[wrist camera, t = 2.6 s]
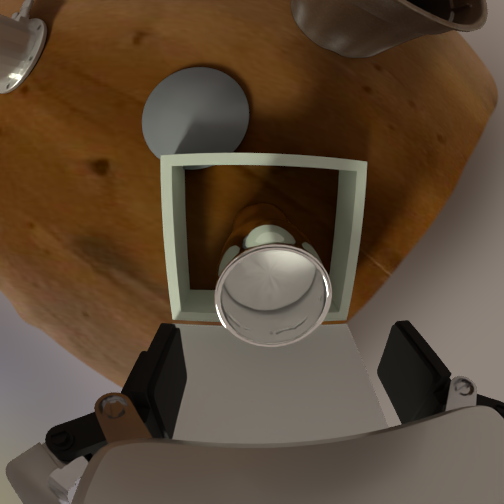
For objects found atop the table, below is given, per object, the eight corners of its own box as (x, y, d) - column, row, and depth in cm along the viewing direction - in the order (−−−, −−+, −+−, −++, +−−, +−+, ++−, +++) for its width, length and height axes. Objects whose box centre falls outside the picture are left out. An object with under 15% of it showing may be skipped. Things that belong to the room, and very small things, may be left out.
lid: (130, 468, 12) (135, 473, 12) (399, 459, 12) (393, 464, 13) (172, 323, 26) (173, 330, 27) (346, 323, 27) (344, 330, 27)
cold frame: (175, 155, 26) (160, 155, 21) (348, 160, 26) (367, 161, 22) (182, 296, 31) (172, 319, 27) (333, 297, 32) (346, 319, 27)
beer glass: (223, 203, 28) (198, 250, 14) (290, 194, 28) (334, 231, 13) (234, 266, 30) (223, 356, 16) (296, 257, 30) (335, 340, 16)
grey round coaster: (147, 75, 23) (144, 73, 22) (250, 68, 23) (250, 65, 22) (144, 171, 26) (141, 172, 26) (248, 168, 27) (248, 169, 26)
